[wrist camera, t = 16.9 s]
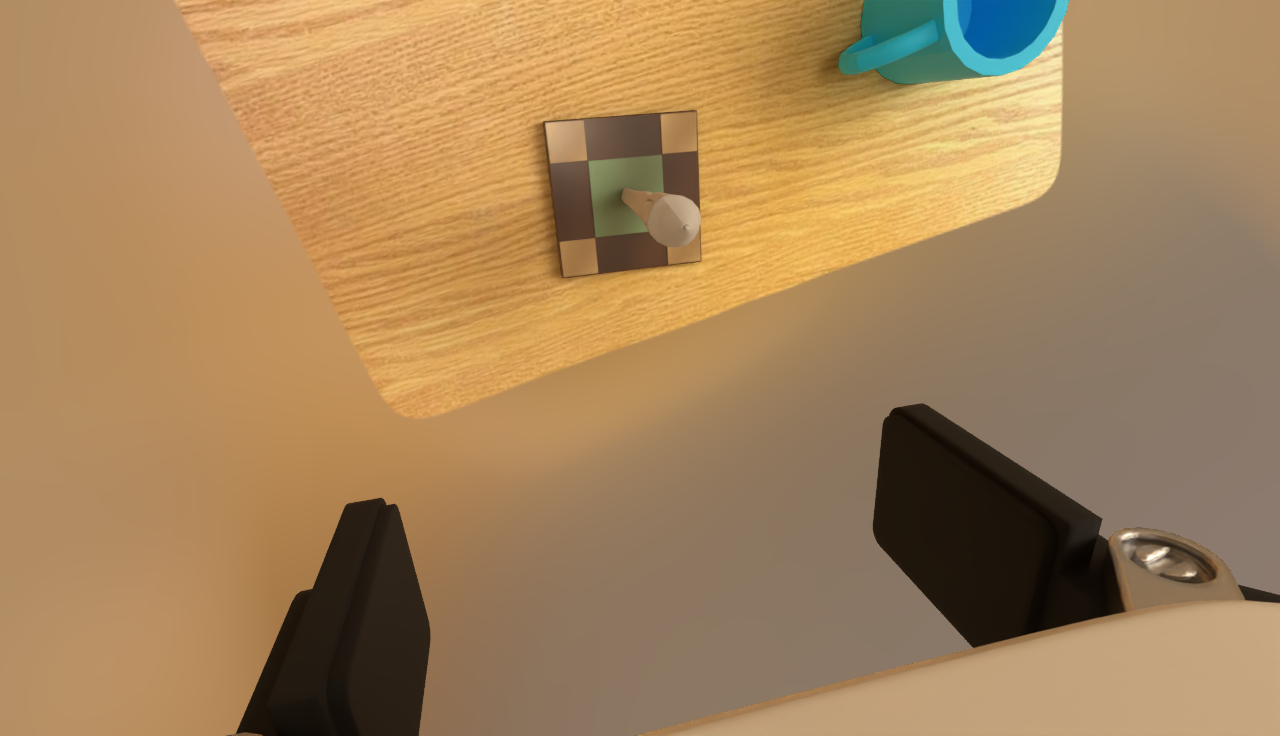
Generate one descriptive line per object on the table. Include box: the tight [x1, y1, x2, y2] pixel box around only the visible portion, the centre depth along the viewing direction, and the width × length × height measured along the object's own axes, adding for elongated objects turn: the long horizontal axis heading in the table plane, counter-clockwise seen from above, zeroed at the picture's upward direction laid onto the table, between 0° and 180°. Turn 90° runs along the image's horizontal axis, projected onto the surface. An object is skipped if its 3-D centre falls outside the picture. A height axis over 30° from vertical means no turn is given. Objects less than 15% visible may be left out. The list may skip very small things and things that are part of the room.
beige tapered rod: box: [622, 188, 701, 248], centre depth 34 cm, size 2×3×14 cm
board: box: [543, 110, 701, 278], centre depth 41 cm, size 10×10×1 cm
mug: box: [838, 0, 1069, 84], centre depth 37 cm, size 12×8×8 cm
